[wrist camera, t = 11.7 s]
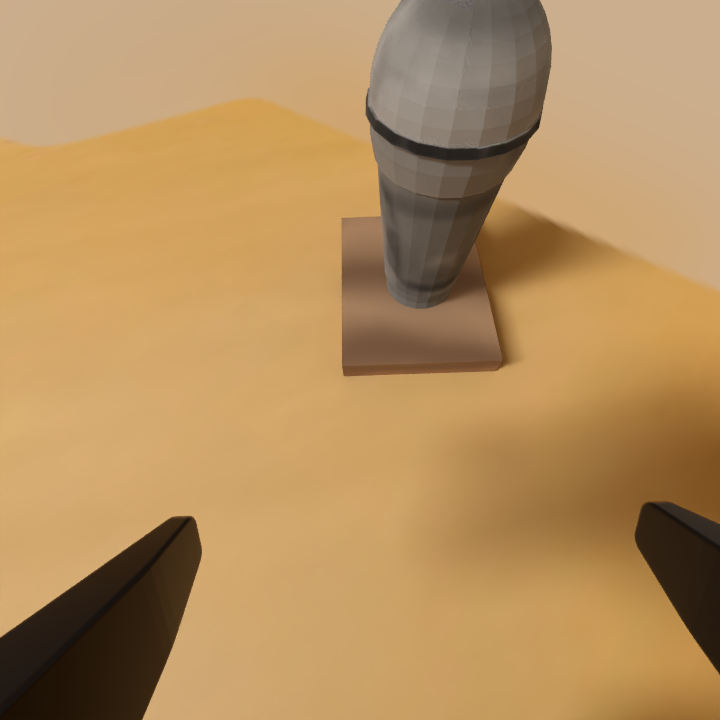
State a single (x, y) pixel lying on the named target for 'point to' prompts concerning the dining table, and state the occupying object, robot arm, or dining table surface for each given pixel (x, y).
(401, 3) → the beverage cup
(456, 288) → the walnut board
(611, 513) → the dining table surface
